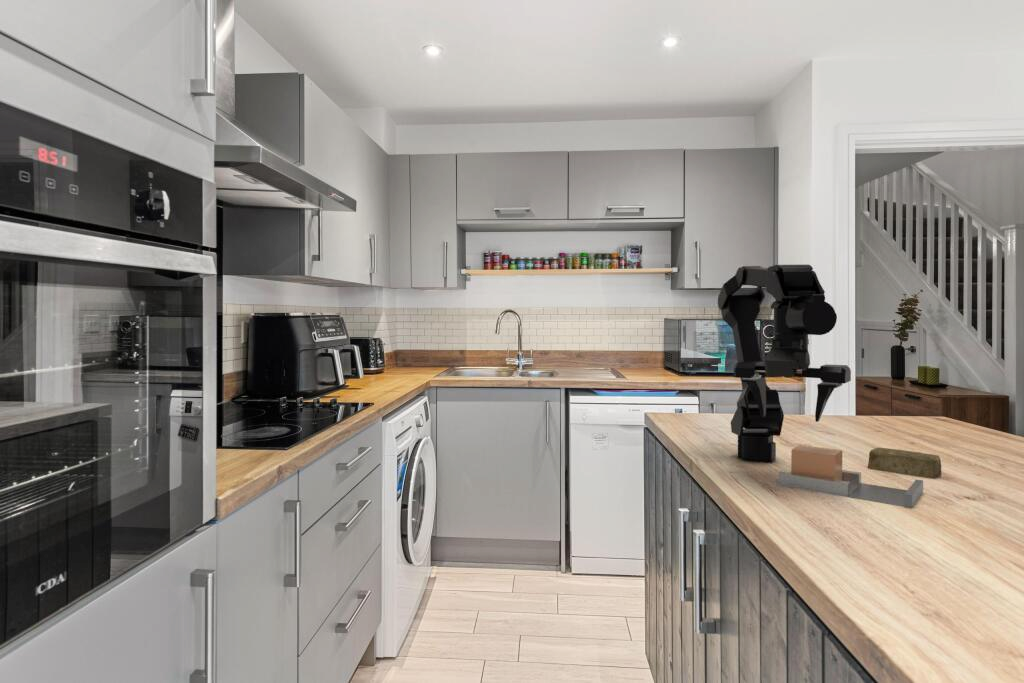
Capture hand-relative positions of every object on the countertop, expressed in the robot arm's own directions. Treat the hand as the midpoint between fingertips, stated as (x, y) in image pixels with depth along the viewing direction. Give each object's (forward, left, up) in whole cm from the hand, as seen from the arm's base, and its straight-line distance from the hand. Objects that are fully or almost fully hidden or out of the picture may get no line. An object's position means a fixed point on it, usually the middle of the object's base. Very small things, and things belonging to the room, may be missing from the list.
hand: (789, 418), depth 109 cm
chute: (+10, -1, -12) cm, 15 cm away
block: (+5, -1, -11) cm, 12 cm away
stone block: (+15, +20, -12) cm, 28 cm away
